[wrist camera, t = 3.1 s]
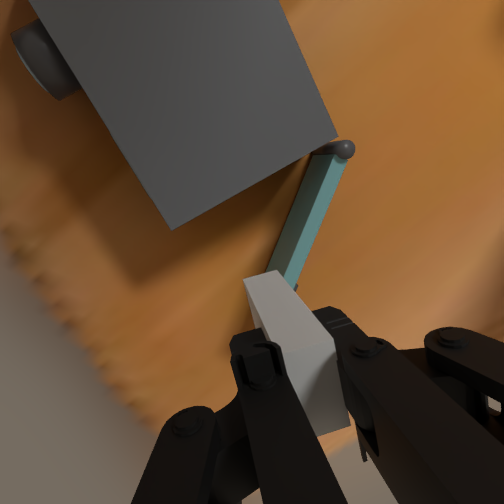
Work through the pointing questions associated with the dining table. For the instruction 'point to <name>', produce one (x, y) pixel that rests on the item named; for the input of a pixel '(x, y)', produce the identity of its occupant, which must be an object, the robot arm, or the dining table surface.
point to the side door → (309, 209)
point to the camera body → (184, 90)
